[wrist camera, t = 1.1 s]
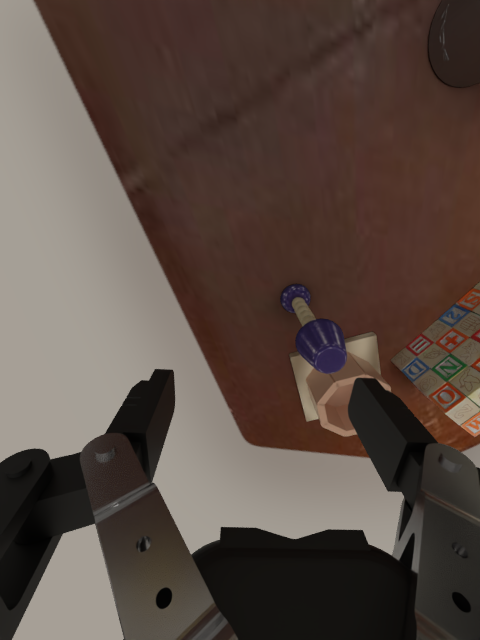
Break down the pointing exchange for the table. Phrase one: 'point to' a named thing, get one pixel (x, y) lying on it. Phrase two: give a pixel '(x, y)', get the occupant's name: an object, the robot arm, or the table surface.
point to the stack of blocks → (449, 362)
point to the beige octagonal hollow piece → (339, 393)
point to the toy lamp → (315, 333)
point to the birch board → (356, 345)
